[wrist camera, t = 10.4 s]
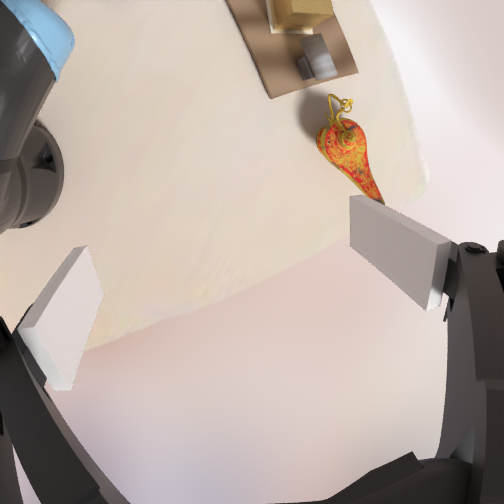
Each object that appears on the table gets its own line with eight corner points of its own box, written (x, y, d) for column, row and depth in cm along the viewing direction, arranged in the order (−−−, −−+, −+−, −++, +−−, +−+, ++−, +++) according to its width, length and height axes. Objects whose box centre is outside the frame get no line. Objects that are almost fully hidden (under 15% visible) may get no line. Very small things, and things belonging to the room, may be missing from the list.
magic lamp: (343, 211, 47) (381, 235, 37) (288, 108, 40) (321, 104, 30) (376, 189, 47) (418, 208, 37) (327, 87, 39) (368, 80, 29)
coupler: (274, 30, 33) (293, 12, 26) (269, -1, 31) (286, -23, 24) (308, 30, 34) (333, 14, 27) (303, 0, 32) (327, -20, 25)
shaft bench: (211, -29, 29) (215, -48, 24) (299, -46, 29) (313, -62, 24) (270, 99, 39) (283, 95, 33) (354, 73, 39) (376, 69, 34)
